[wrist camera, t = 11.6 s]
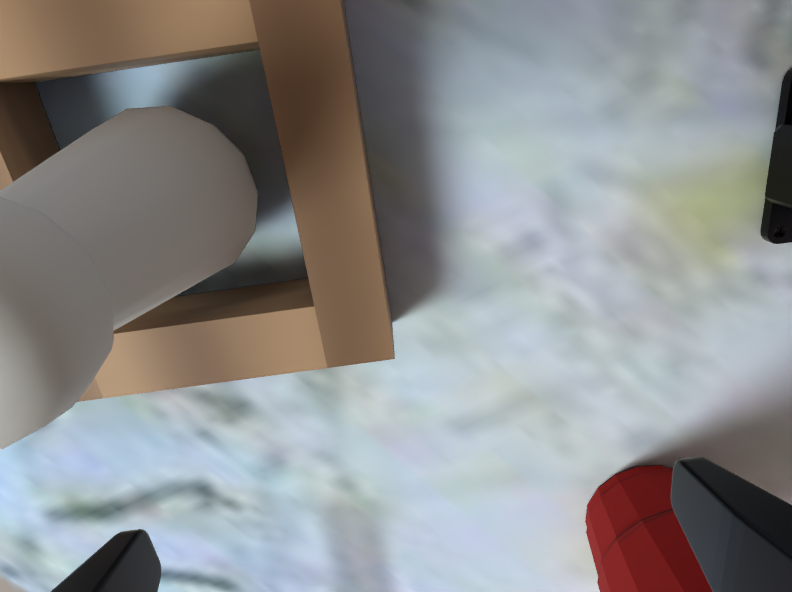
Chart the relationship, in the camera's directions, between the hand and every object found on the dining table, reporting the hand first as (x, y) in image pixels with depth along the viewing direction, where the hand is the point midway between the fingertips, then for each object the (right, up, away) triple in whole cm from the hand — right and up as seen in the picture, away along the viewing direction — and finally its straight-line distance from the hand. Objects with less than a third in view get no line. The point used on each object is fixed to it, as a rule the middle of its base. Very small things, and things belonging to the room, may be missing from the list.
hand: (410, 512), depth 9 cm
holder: (-8, +8, +11) cm, 15 cm away
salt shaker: (-8, +8, +11) cm, 15 cm away
